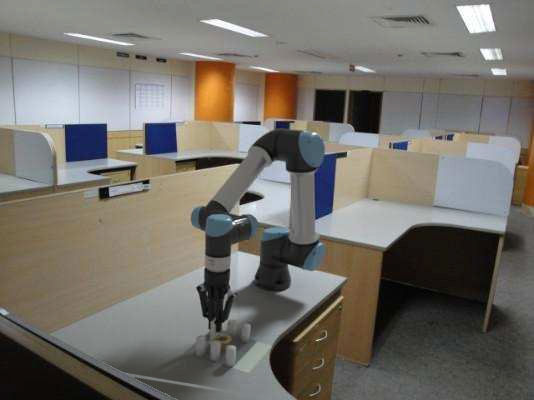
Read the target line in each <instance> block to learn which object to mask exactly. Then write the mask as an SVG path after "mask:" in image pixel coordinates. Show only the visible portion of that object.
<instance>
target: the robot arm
mask: <svg viewBox="0 0 534 400" xmlns="http://www.w3.org/2000/svg"><path fill="white" fill-rule="evenodd" d="M325 155H326V148H325V143H324V140H323V138H322V137H321V135H320V134H319V133H317V132H315V131H310V130H301V129H289V128H281V127H280V128H276V129H275V128H274V129H273V130H270V131H268V132H266V133H264V134H263V135H262V136H260V137H259V138H258V139H257V140H255V142H253V144H252V145H251V146H249V148H248V150H247V155H246V156H245V157H244V159H243V160H242V161H241V163H239V165H238V166H237V167H236V169H235V170H234V172H232V173H231V175H230V176H229V177H228V178H227V180H226V181H225V182H224V183H223V184H222V185H221V187H220V188H219V189H218V191H217V192H216V193H215V194H214V196H213V197H212V198H211V199H210V201H208V203H207V204H206V205H198V206H196V207H195V208H194V209H193V210H192V211H191V214H190V222H191V225H192V226H193V227H194V228H195V229H198V230H200V231H201V232H204V234H205V235H204V236H205V237H204V238H205V240H204V241H205V242H204V243H205V245H204V246H205V248H204V270H203V271H204V272H203V279H204V281H203V283H200V284H199V285H197V286H196V287H195V289H196V291H197V293H198V297H199V301H200V307H201V314H202V317H203V318H204V319H205V318H206V319H207V321H208V328H207V329H208V331H210V342H212V341H213V339H214V338H215V337H216V336H217V335H218V334H219V332H220V331H221V329H222V330H223V324H224V323H225V322H226V321H228V320H229V317H230V314H231V310H232V307H233V304H234V301H235V299H236V298H237V297H238V293H237V292H233V291H232V290H231V285H230V279H231V269H230V268H231V261H232V260H231V257H232V255H231V254H232V246H233V245H235V244H238V243H241V242H244V241H246V240H250V239H251V238H254V237H255V236H256V235H257V234H258V233H259V228H260V227H259V221H258V219H257V218H256V217H255V216H254V215H253V214H249V213H247V214H241V215H238V214H234V213H231V212H232V211H233V209H234V208H235V207H236V205H238V203H239V202H240V200H241V199H242V198H243V197H244V195H245V194H246V192H247V191H248V190H249V189H250V187H251V186H252V185H253V184H254V182H255V181H256V179H258V177H259V176H260V174H261V173H262V172H263V171H264V170H265V168H270V166H271V165H272V164H273V163H274V162H277V161H279V162H285V163H284V164H285V171H286V172H287V173H289V174H290V177H289V178H290V201H291V202H290V203H291V204H290V205H291V223H292V225H291V226H292V231H291V229H290V228H287V227H281V226H280V227H279V226H277V227H275V226H274V227H269V228H266V229H264V230H263V231H262V233H261V238H260V248H259V250H260V251H259V252H260V253H259V264H258V268H257V269H256V272H255V275H254V280H253V281H254V285H256V286H257V288H259V289H260V288H261V289H263V290H266V291H267V290H268V291H282V290H287V289H289V288H290V287H291V285H292V276H291V274H290V273H291V272H290V269H289V265H290V266H291V267H292V266H293V267H295V268H299V269H302V270H303V271H309V272H314V271H316V270H318V268H320V267H321V264H323V261H324V259H325V254H326V251H327V250H326V249H327V248H326V245H325V243H323V242H322V241H320V235H319V233H318V232H317V231H316V211H315V210H316V207H315V205H316V201H315V196H316V194H315V173H316V172H317V171H318V170H319V167H320V166H321V165H322V164H323V162H324V159H325V158H324V157H325ZM225 296H226V300H225ZM224 300H225V302H224ZM224 303H225V305H224Z"/></svg>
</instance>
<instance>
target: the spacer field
mask: <svg viewBox="0 0 534 400" xmlns="http://www.w3.org/2000/svg"><path fill="white" fill-rule="evenodd" d="M226 321H227V322H226V323H227V327H226V330H223V328H222V329H221V331H220V332H219V334H227V335H229V336H230V337H231V338H232V345H229V346H227V347H226V352H220V349H221V342H220V341H218V340H214V341H212V342H210V330H208V331H207V332H206V333H205V334H204V335H197V336H196V338H195V342H194V343H193V344H191V346H190V347H188V348H187V349H185V351H184V352H185V353H187V354H190V355H193V356H196V357H199V358H202V359H205V360H208V361H210V362H214V363H217V364H219V365H222V366H225V367H228V368H231V369H234V370H237V371H240V372H243V373H245V374H250V373H251V371H252V370H253V369H254V368H255V367H256V366H257V364H258V363H259V362H260V361H261V359H262V358H264V356H265V355H266V354H267V352H268V351H269V350H270V349H271V348H272V347H273V346H272V345H271V344H268V343H266V342H265V343H264V342H261V341H257V340H255V339H251V330H252V329H251V328H252V327H251V326H252V325H251V324H249V323H241V330H240V331H241V332H240V335H238V334H237V326H236V325H237V320H236V319H227V320H226ZM226 331H227V332H226Z"/></svg>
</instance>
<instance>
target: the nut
mask: <svg viewBox="0 0 534 400" xmlns="http://www.w3.org/2000/svg"><path fill="white" fill-rule="evenodd" d="M214 340H218V341H220V342H221V349H220V352H226V347H227V346H229V345H232V338H231V337H230V336H229V335H227V334H218V335H217V336H216V337H215V338H214V339H213V341H214Z"/></svg>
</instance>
